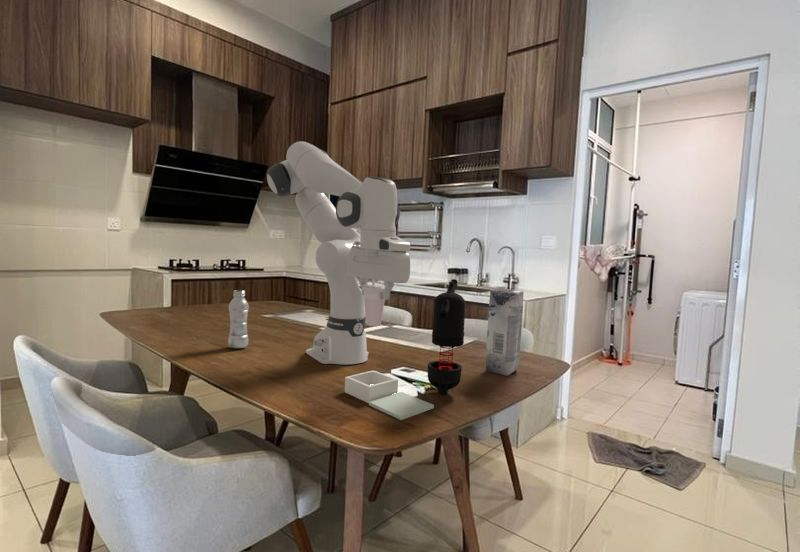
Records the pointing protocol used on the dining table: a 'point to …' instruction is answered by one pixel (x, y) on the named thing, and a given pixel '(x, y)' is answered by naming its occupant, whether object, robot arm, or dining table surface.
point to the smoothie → (373, 304)
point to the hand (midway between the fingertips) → (375, 297)
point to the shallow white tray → (363, 390)
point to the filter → (447, 338)
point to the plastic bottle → (238, 320)
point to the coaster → (401, 405)
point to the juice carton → (504, 330)
